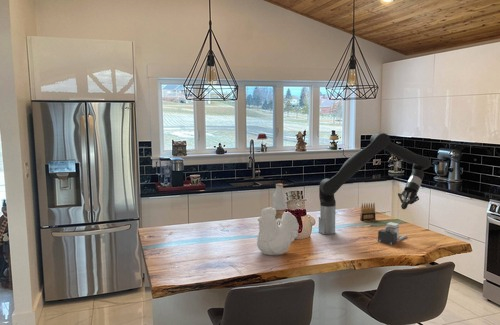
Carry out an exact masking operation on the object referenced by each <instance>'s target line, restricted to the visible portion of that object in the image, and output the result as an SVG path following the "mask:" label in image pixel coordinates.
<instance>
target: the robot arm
mask: <svg viewBox="0 0 500 325" xmlns="http://www.w3.org/2000/svg"><path fill="white" fill-rule="evenodd" d="M381 151H386V152H388V153H390V154H392V155H394V156H395V157H397V158H399V159H400V160H402V161H404V162H405V163H407V164H411V165H412V169H411V170H412V171H411V174H410V176H409V178H408V180H407V181H406V184H405V187H404V189H403V191H402V192H400V193H397V197H398V199H399V201H400V202H401V205H400V207H401V210H406V209H407V208H408V205H413V204H415V203H416V202H418V201H419V200H420V197H419V195H418V193H419V190H420V189H421V188H420V187H421V185H422V183H423V182H422V181H423V179H424V177H425V173H424V171H425V170H427V169H429V168H430V167H431V166H432V162H431V160H430V158H428V157H426V156H425V155H421V154H417V153H415V152H413V151H411V150H410V149H408V148H405V147H404V146H401V145H399V144H397V143H394V142H392V141H391V138H390V136H389V134H388V133H384V132H376V133H373V134H372V135H371V137H370V143H369V144H368V145H367V146H366V147H364V148H362V149H360V150H359V151H357V152H355V153H353V154H352V155H351V156H350V157H348V159H346V161H344V163H343V164H342V166H341V167H340V169H339V170H338V172H337V173H336V174H335V175H333V176H332V177H331V178H324V179H322V180H321V181H320V182H319V186H318V187H319V189H318V190H319V191H318V192H319V195H318V197H319V203H320V204H319V205H320V206H319V211H320V212H319V217H318V233H320V234H322V235H334V234H335V233H336V208H337V207H336V198H335V194H336V193H337V192H338V191H339V189H341V187H342V186H343V185H344V184H345V183H346V182H347V181H348V180H349V179H350V178H352V177H353V176H354V175H356V174H357V173H358V172H359V171H360V170H361V169H362V168H363V167H364V166H365V165H366V164H367V163H369V162H370V161H371V159H373V158H374V157H375V156H376V155H378V154H379V153H380V152H381Z"/></svg>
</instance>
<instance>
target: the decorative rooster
mask: <svg viewBox="0 0 500 325" xmlns="http://www.w3.org/2000/svg"><path fill="white" fill-rule="evenodd" d="M275 215H276V210H275V209H274V208H272V207H266V208H263V209H262V210H261V212H260V216H259V217H258V218H257V221H258V229H259V230H258V235H257V241H256V245H257V248H258V250H259V251H260V252H261V253H262V254H264V255H266V256H267V255H268V256H269V255H270V256H278V255H284V254H285V253H286V252H287V251H288V250H289V248H290V246H291V242H294V241H295V239H296V238H297V237H298V234H299V229H300V228H299V227H300V225H299V222H298V219H297V217H296V216H295V215H293V213H291V212H289V211H287V212H284V213H283V215H282V219H277V220H276V218H275ZM278 221H280V225H277V223H278Z"/></svg>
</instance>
